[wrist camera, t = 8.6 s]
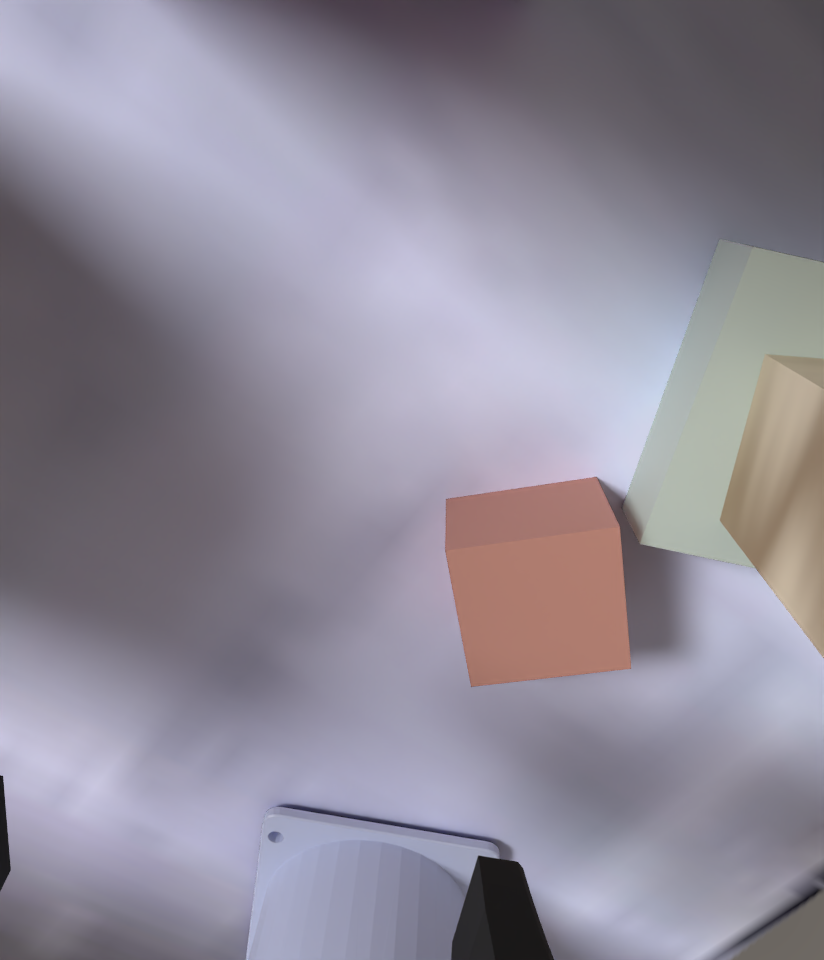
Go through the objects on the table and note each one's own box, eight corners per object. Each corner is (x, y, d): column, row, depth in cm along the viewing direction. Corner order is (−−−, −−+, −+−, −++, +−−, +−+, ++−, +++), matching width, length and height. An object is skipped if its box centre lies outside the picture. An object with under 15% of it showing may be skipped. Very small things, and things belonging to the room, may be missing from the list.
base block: (862, 552, 20) (916, 602, 17) (617, 500, 19) (639, 544, 17) (995, 300, 17) (1080, 320, 15) (712, 236, 17) (753, 246, 14)
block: (607, 601, 20) (631, 668, 18) (468, 618, 21) (471, 686, 18) (595, 474, 19) (619, 526, 16) (445, 496, 19) (445, 550, 17)
